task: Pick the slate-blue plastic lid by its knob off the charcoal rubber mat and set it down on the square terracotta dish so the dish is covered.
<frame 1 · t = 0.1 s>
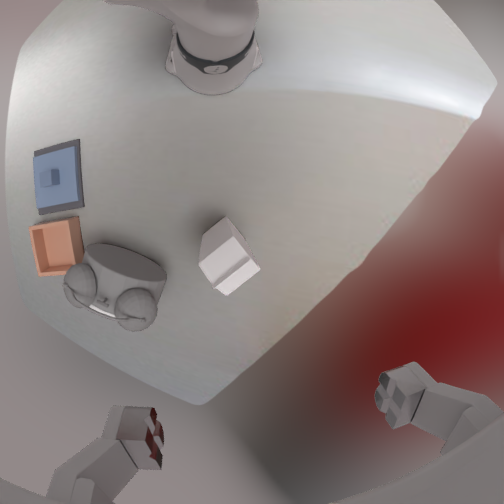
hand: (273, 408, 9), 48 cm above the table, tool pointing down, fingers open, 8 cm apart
mat: (58, 177, 47), on the table
alarm clock: (133, 264, 55), on the table
dish: (62, 243, 51), on the table
milk: (223, 236, 56), on the table
lid: (56, 177, 47), point 1 cm above the table, touching mat
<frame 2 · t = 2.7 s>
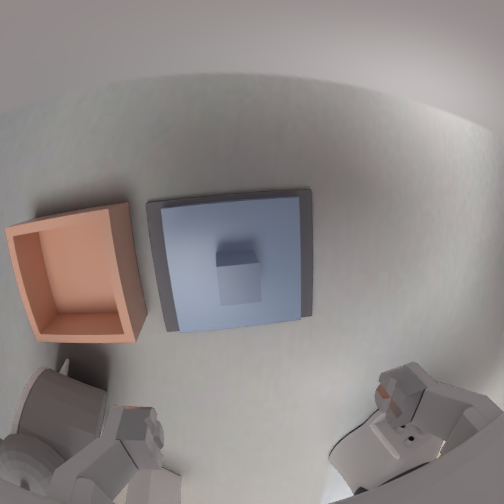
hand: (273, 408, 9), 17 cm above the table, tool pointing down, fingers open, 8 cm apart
mat: (234, 262, 25), on the table
alarm clock: (85, 392, 27), on the table
dish: (86, 266, 24), on the table
milk: (155, 472, 33), on the table
lid: (234, 264, 25), point 1 cm above the table, touching mat
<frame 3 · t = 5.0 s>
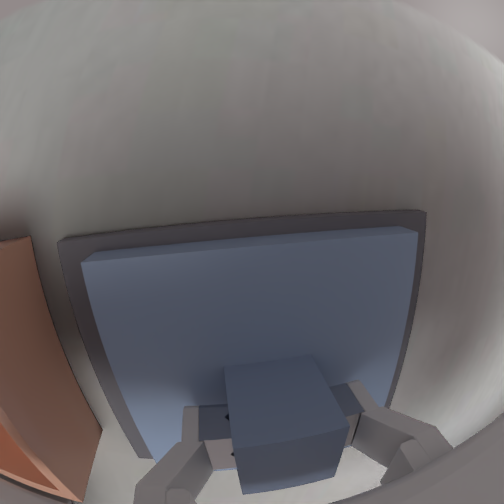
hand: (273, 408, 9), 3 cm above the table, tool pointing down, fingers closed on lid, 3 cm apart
mat: (260, 363, 11), on the table
alarm clock: (45, 482, 13), on the table
lid: (263, 372, 11), point 1 cm above the table, touching gripper, mat
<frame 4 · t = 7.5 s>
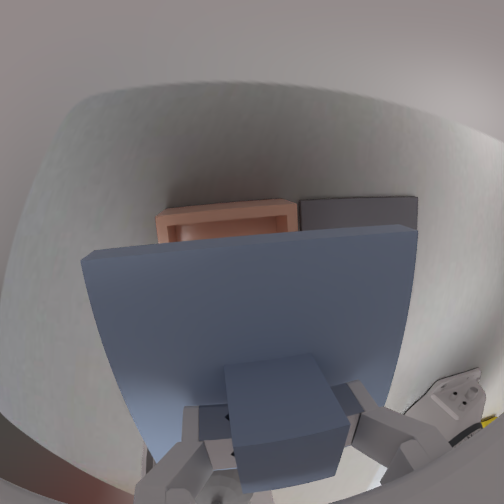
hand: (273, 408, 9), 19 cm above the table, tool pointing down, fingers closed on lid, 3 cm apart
mat: (362, 254, 29), on the table
alarm clock: (192, 391, 31), on the table
dish: (228, 259, 27), on the table
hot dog: (480, 425, 52), on the table
milk: (239, 465, 36), on the table
lid: (263, 371, 11), point 17 cm above the table, touching gripper
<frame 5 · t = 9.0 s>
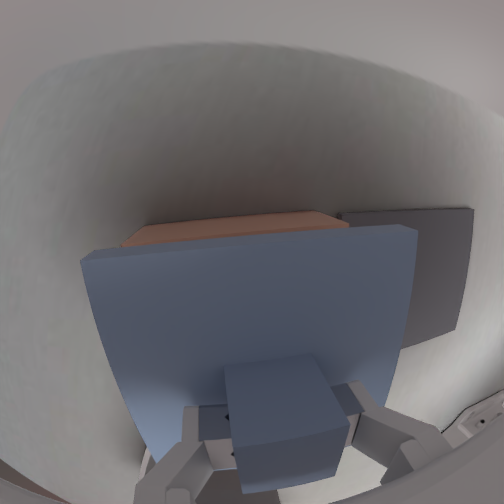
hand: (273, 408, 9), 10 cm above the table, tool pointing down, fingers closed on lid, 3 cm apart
mat: (411, 283, 21), on the table
alarm clock: (191, 446, 23), on the table
dish: (237, 297, 19), on the table
lid: (263, 371, 11), point 8 cm above the table, touching gripper
when the fingers open (9 cm above the table, at t = 10.0 s): lid drops 2 cm, resting on dish.
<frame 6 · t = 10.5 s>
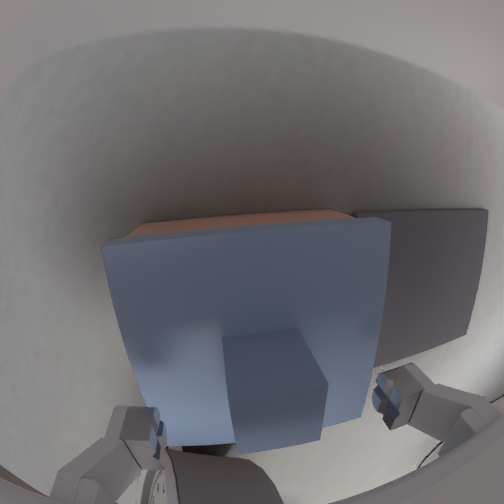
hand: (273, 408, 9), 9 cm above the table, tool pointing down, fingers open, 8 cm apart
mat: (425, 287, 19), on the table
alarm clock: (191, 455, 21), on the table
dish: (243, 302, 17), on the table
lid: (257, 347, 12), point 5 cm above the table, touching dish
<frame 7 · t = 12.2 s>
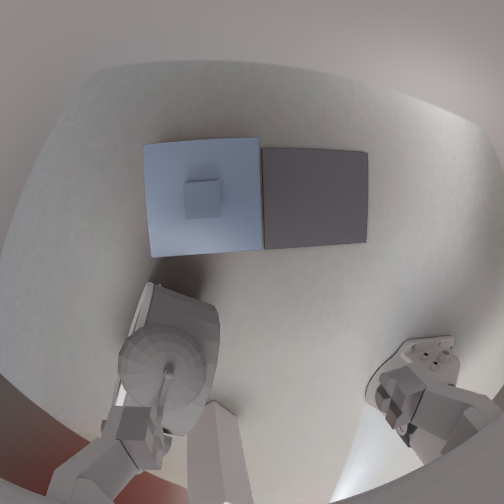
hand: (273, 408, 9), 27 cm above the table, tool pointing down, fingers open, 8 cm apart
mat: (318, 197, 35), on the table
alarm clock: (167, 321, 36), on the table
milk: (212, 415, 42), on the table
lid: (202, 196, 28), point 5 cm above the table, touching dish
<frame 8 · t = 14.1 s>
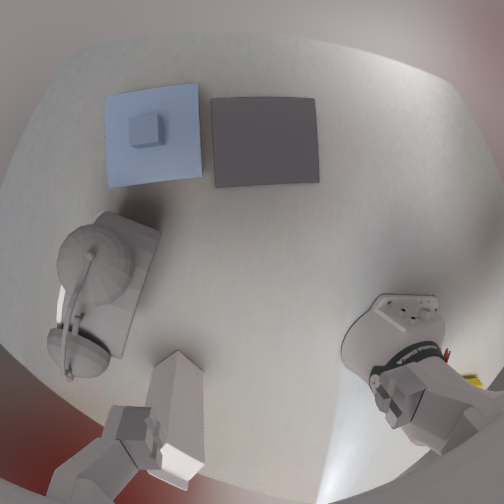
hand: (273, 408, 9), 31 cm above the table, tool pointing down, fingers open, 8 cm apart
mat: (266, 140, 36), on the table
alarm clock: (130, 261, 38), on the table
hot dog: (458, 385, 59), on the table
milk: (178, 369, 43), on the table
lid: (152, 135, 29), point 5 cm above the table, touching dish
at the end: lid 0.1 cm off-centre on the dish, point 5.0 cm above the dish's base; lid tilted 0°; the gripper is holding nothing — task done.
